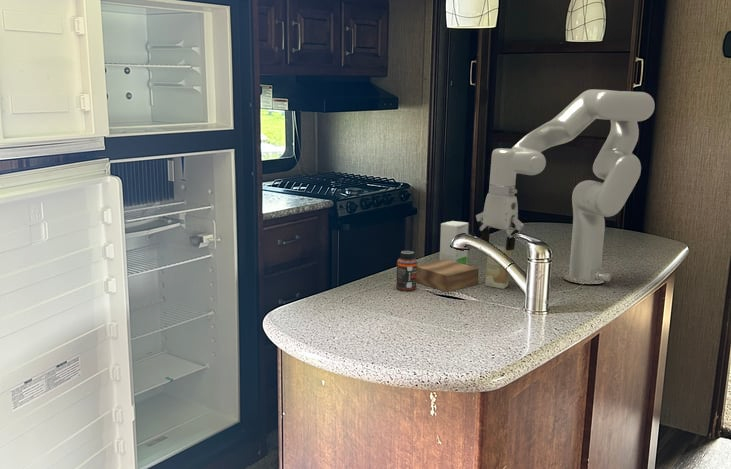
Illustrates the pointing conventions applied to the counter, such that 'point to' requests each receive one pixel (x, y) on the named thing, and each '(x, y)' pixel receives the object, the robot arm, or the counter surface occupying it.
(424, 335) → the counter surface
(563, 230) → the counter surface
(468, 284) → the walnut block
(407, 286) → the supplement bottle
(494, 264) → the skincare box
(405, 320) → the counter surface
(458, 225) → the skincare box
